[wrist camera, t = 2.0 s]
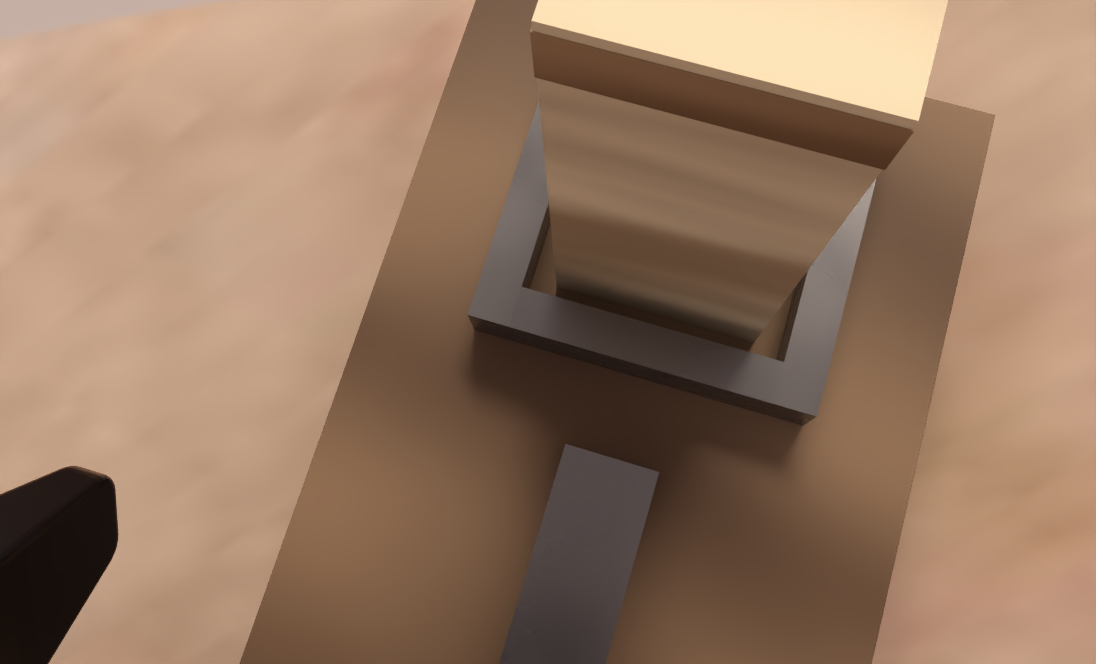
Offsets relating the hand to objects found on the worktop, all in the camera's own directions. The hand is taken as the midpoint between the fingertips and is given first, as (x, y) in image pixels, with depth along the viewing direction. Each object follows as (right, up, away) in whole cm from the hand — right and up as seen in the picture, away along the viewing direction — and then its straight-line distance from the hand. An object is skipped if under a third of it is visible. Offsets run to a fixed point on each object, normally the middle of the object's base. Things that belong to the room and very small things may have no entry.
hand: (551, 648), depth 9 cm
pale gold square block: (+3, +5, +11) cm, 12 cm away
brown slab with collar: (+1, 0, +14) cm, 14 cm away
